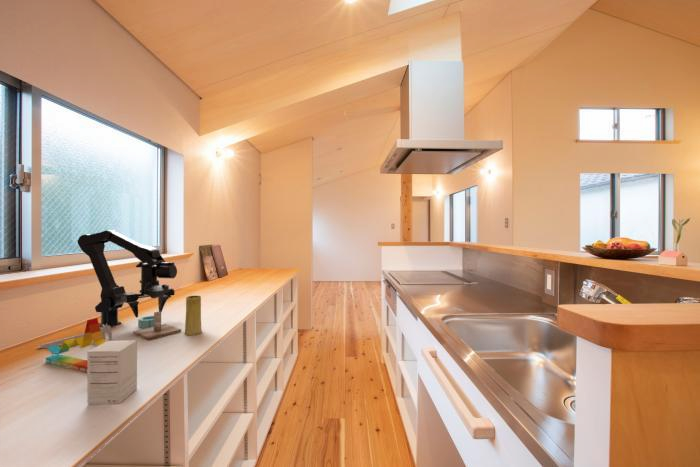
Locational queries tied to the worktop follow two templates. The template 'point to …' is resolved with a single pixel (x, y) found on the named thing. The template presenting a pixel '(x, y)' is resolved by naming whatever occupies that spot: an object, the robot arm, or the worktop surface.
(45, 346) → the caliper
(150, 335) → the post stand
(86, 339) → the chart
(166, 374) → the worktop surface
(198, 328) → the vase
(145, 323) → the ring
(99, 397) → the supplement box
